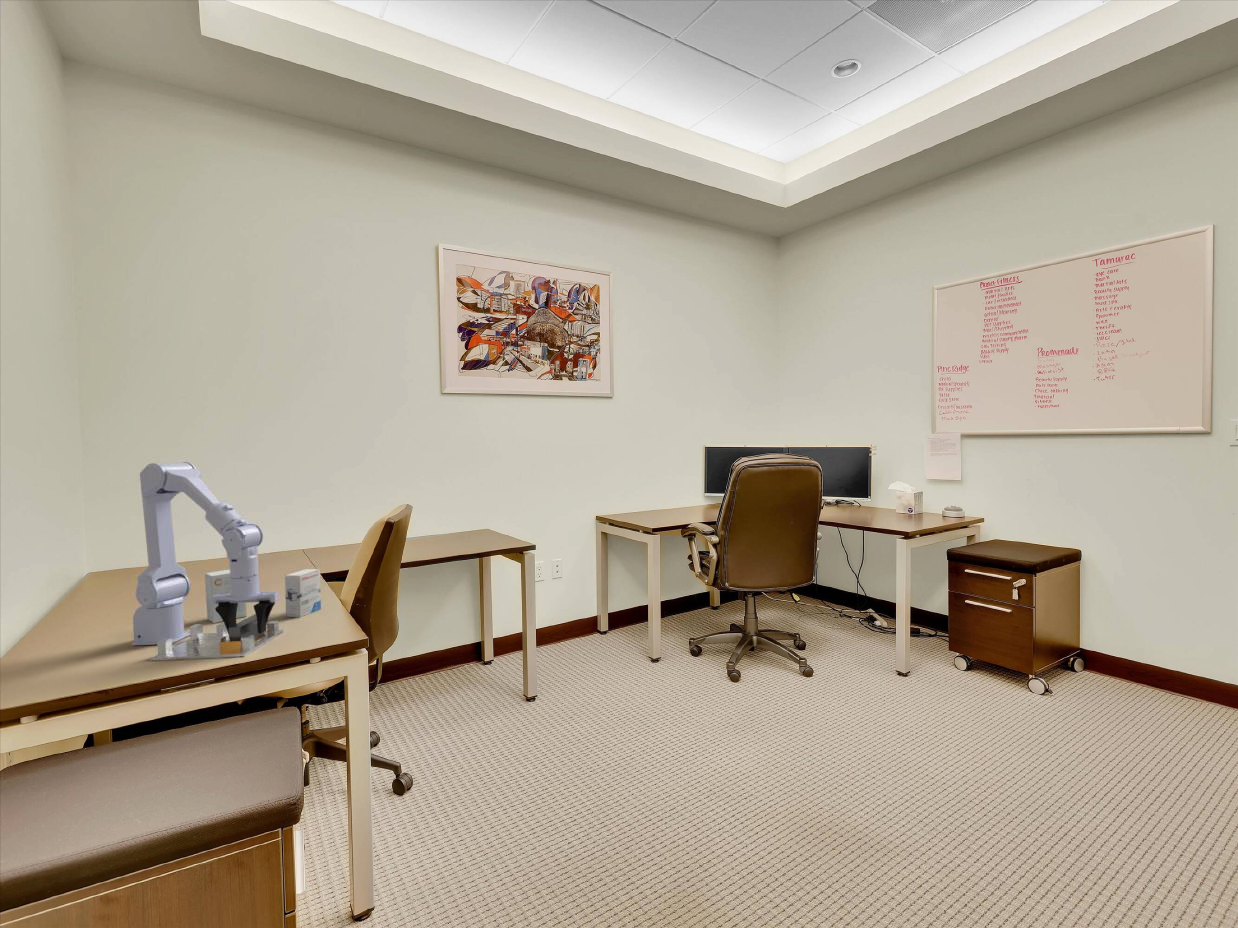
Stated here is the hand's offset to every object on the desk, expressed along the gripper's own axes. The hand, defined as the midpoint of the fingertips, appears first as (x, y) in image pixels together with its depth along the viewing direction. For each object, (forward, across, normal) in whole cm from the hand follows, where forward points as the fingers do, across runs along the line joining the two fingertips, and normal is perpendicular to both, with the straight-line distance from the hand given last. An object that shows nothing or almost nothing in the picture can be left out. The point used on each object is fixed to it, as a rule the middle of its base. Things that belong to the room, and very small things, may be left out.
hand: (247, 632), depth 140 cm
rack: (+3, +6, 0) cm, 7 cm away
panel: (+2, 0, 0) cm, 2 cm away
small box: (+3, +19, -24) cm, 31 cm away
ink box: (+3, -1, -26) cm, 27 cm away
